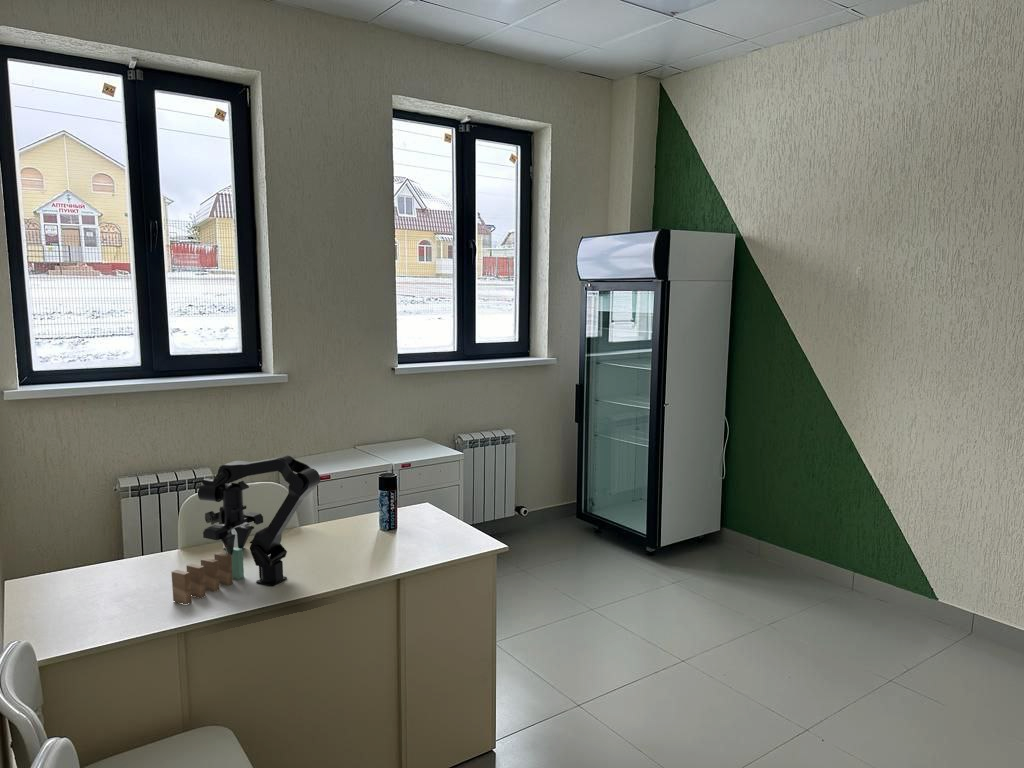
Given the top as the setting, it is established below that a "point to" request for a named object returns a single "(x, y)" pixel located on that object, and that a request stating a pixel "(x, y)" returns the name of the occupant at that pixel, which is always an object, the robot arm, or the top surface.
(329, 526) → the top surface
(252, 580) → the top surface
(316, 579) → the top surface
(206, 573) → the tile
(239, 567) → the tile
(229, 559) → the wooden block
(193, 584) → the tile
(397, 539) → the top surface
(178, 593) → the brown wooden block
